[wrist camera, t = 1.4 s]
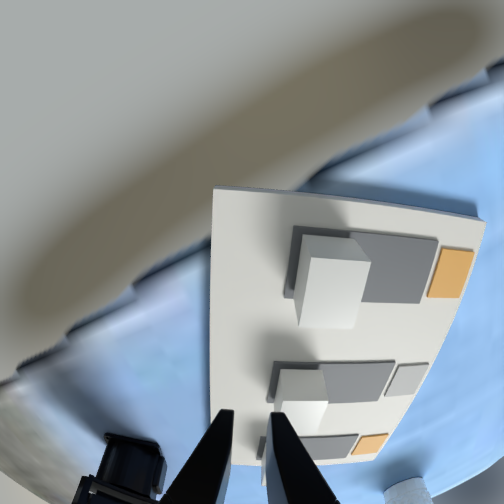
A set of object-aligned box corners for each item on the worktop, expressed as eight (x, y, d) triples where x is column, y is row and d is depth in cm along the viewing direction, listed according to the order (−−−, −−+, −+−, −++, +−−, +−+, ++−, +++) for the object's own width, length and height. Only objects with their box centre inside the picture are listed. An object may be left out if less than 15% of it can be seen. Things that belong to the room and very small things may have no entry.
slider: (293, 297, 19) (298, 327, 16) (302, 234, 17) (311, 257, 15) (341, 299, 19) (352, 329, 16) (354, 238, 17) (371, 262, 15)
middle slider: (273, 403, 23) (275, 433, 20) (280, 368, 21) (282, 400, 19) (311, 404, 23) (315, 433, 20) (322, 369, 21) (328, 400, 19)
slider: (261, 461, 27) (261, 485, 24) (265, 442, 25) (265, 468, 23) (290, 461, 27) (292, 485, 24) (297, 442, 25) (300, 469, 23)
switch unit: (212, 455, 29) (211, 464, 28) (215, 185, 18) (212, 189, 17) (371, 453, 29) (373, 461, 28) (478, 217, 18) (488, 223, 17)
